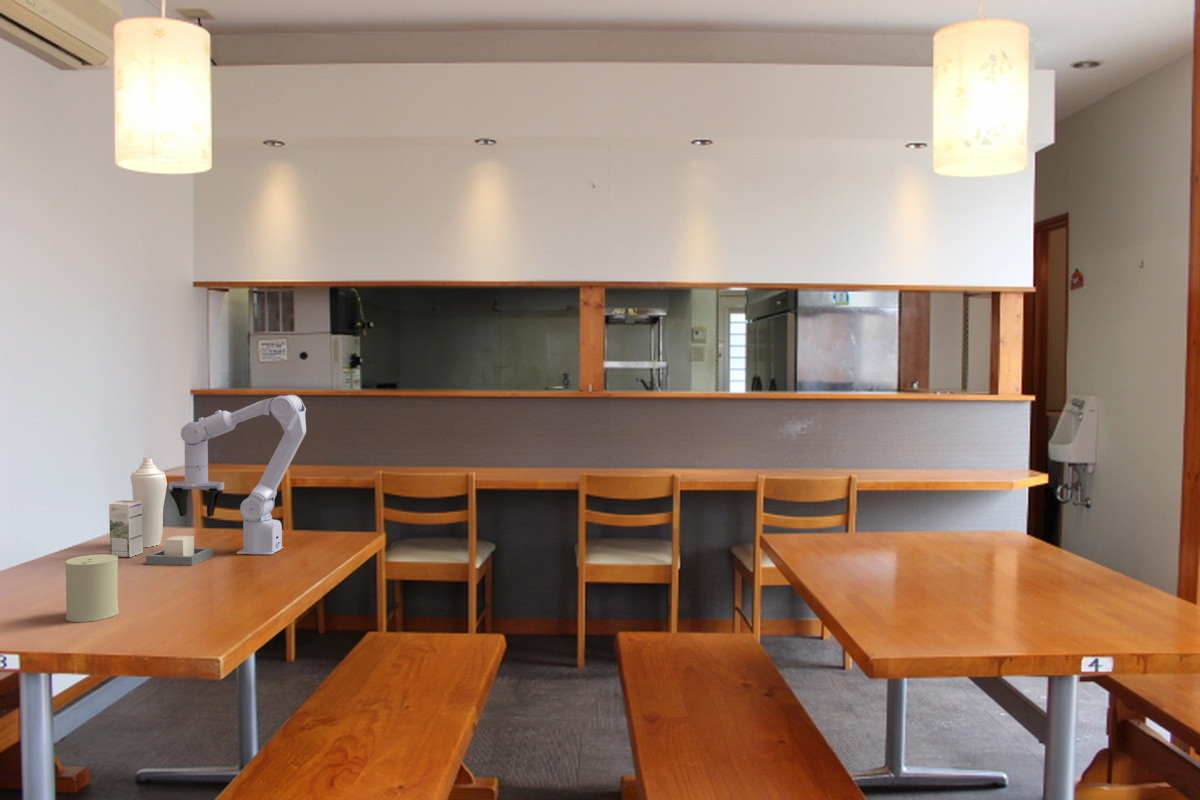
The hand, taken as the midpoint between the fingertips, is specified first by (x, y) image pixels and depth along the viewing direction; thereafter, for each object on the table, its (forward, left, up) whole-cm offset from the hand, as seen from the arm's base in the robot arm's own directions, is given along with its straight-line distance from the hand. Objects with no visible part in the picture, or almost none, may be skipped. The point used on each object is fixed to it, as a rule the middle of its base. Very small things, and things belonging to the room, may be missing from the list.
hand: (196, 515), depth 224 cm
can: (-10, +57, -10) cm, 59 cm away
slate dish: (-1, +10, -10) cm, 14 cm away
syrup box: (+16, +6, -10) cm, 20 cm away
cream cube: (-1, +10, -9) cm, 14 cm away
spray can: (+18, -6, -10) cm, 21 cm away
